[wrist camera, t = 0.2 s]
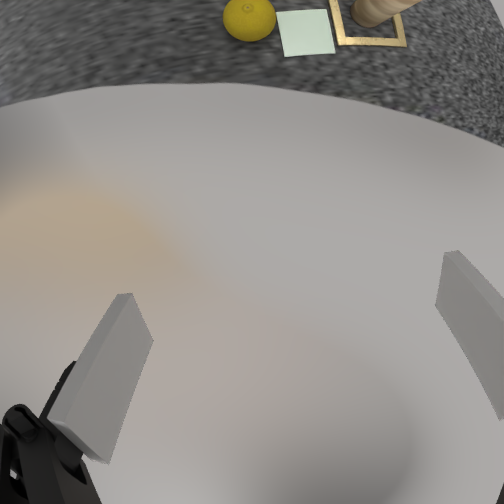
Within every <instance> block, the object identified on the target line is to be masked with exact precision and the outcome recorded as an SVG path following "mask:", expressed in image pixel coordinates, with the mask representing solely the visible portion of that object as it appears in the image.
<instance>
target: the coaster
mask: <svg viewBox="0 0 504 504" xmlns="http://www.w3.org/2000/svg"><path fill="white" fill-rule="evenodd" d="M276 16H277V21H278V26H279V31H280V36H281V41H282V46H283V51H284V57H292V56H303V55H317V54H335V49H334V43H333V38H332V33H331V28H330V24H329V19H328V14H327V10H326V9H317V10H298V11H285V12H276Z"/></svg>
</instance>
